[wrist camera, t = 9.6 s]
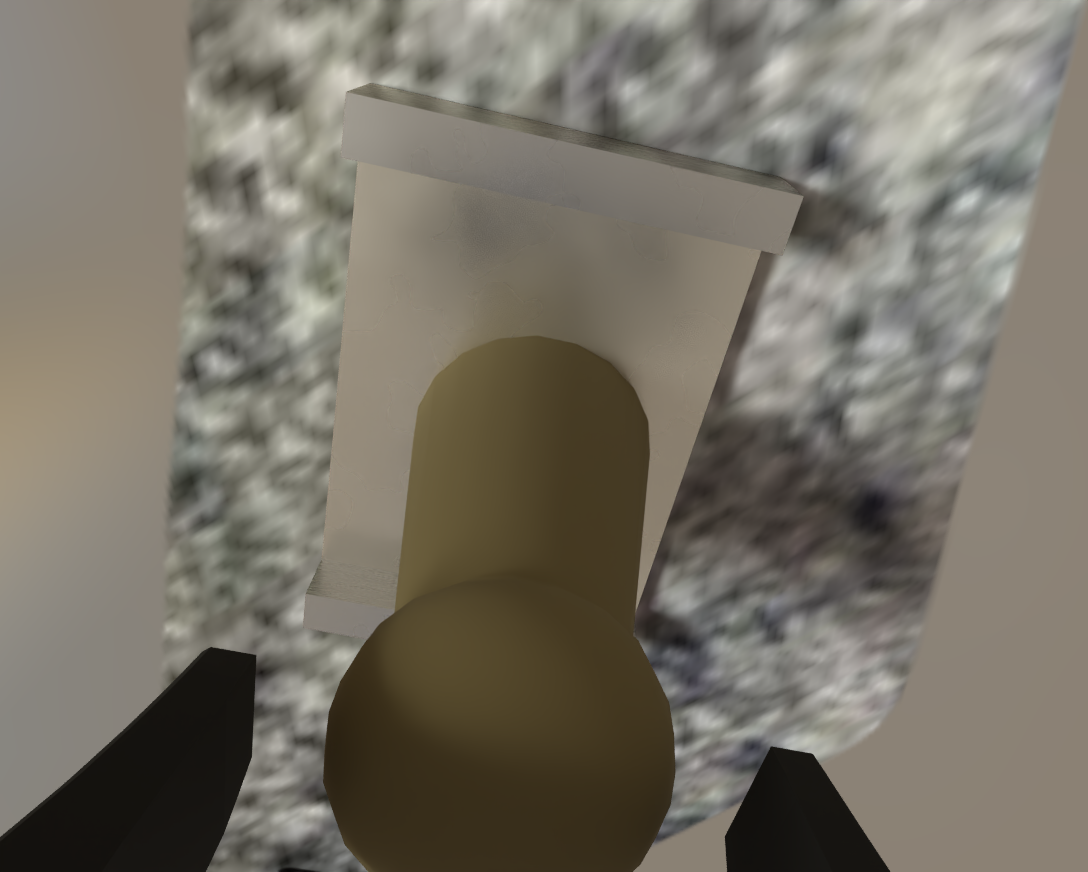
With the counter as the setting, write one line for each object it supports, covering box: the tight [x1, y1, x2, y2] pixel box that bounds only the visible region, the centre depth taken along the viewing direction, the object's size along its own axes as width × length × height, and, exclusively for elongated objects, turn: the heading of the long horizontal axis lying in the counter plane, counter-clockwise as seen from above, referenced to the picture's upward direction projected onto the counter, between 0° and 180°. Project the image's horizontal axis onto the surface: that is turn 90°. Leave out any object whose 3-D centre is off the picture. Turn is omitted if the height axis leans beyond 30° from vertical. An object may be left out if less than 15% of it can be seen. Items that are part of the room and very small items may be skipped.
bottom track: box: [303, 83, 804, 639], centre depth 19 cm, size 14×9×2 cm, turn 168°
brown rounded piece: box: [323, 335, 675, 872], centre depth 15 cm, size 6×6×11 cm
